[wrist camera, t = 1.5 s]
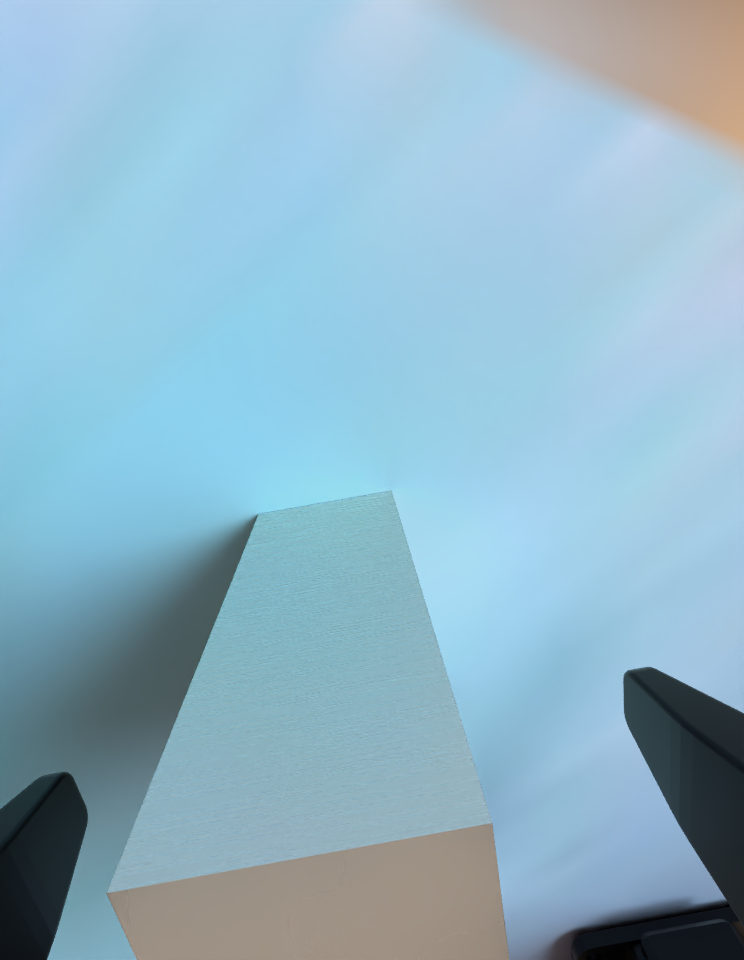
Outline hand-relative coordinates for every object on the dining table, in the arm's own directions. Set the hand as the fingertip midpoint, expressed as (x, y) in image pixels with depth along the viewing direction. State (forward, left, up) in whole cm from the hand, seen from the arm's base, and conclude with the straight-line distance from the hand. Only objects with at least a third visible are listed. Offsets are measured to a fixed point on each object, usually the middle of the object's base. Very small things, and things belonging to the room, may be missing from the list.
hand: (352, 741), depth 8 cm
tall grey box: (0, 0, -4) cm, 4 cm away
